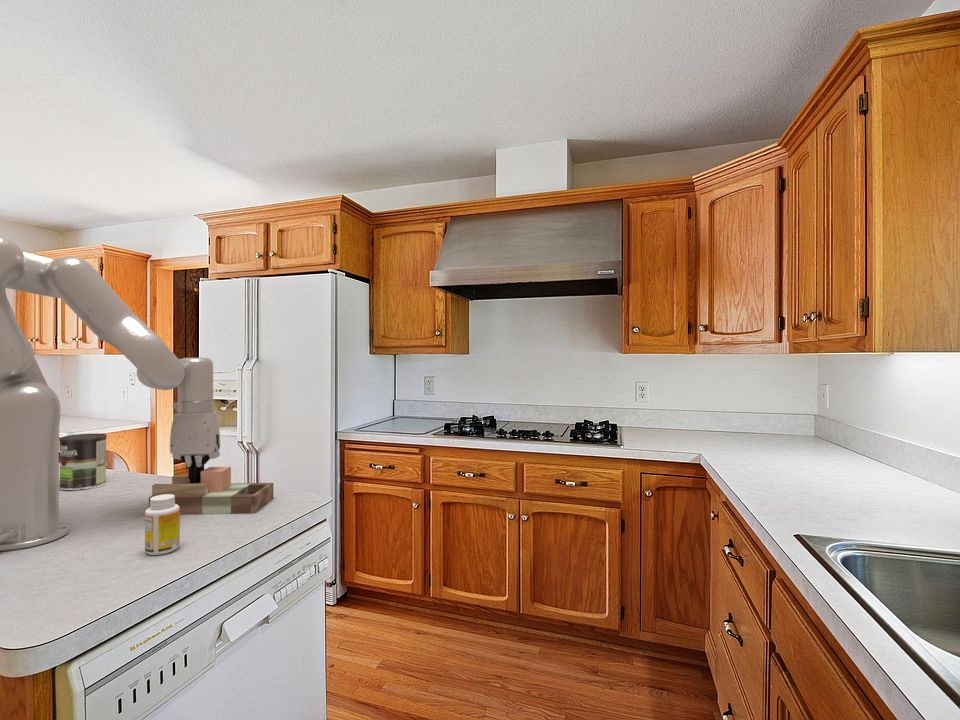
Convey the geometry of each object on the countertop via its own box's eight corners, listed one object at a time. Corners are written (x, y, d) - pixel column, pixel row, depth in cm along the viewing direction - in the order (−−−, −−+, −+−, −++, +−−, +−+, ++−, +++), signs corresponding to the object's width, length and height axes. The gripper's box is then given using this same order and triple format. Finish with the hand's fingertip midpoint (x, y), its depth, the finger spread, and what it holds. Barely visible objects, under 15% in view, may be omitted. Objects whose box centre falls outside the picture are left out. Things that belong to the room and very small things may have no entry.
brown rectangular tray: (255, 513, 113) (255, 485, 113) (148, 514, 112) (148, 486, 111) (273, 498, 125) (273, 473, 125) (177, 499, 123) (177, 474, 123)
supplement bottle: (185, 544, 95) (185, 492, 95) (170, 555, 89) (170, 501, 89) (155, 545, 94) (155, 493, 94) (138, 556, 89) (138, 501, 88)
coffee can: (76, 492, 129) (76, 440, 129) (49, 489, 132) (49, 438, 132) (115, 483, 139) (115, 434, 138) (90, 480, 142) (90, 432, 141)
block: (222, 491, 117) (222, 471, 117) (200, 492, 116) (200, 471, 116) (230, 486, 122) (230, 466, 122) (210, 486, 121) (210, 466, 121)
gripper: (155, 409, 114) (155, 486, 114) (220, 409, 115) (220, 485, 115) (172, 406, 121) (173, 478, 121) (234, 405, 122) (234, 477, 123)
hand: (196, 481), depth 118 cm, fingers closed
